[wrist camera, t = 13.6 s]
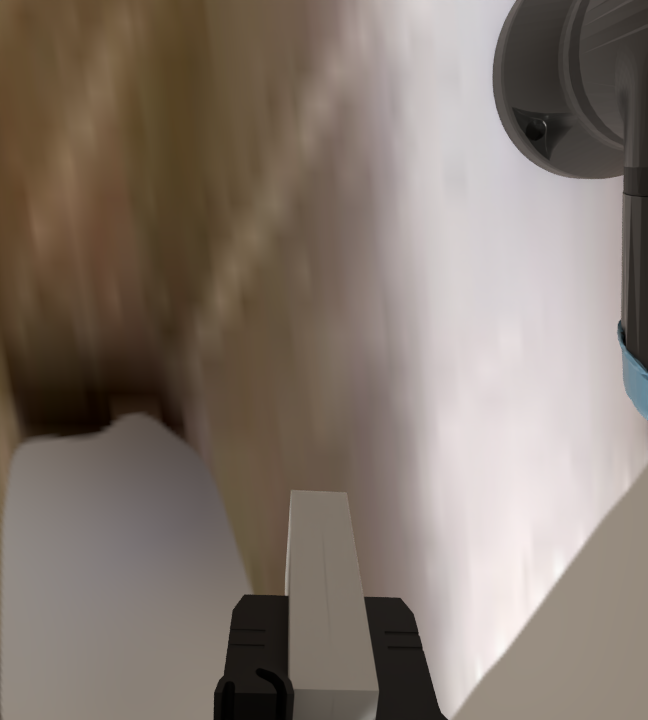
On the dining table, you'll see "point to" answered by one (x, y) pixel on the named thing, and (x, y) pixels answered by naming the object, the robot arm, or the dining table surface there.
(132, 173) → the dining table surface
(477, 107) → the dining table surface
